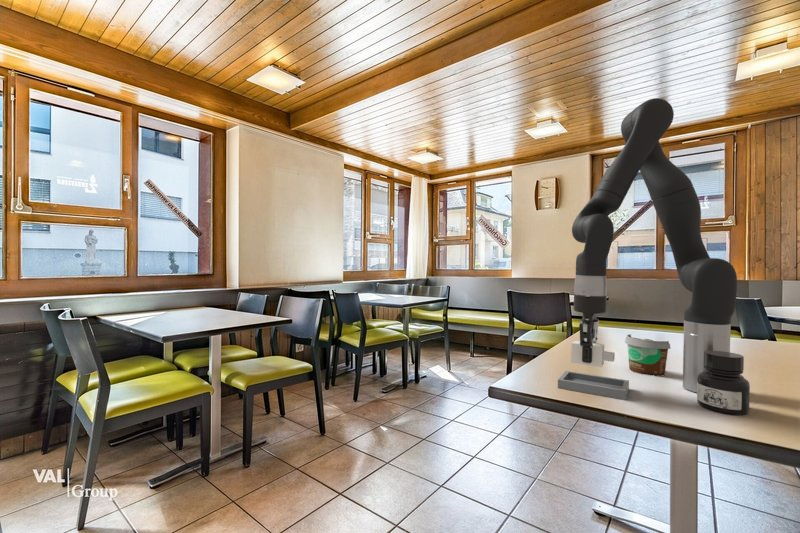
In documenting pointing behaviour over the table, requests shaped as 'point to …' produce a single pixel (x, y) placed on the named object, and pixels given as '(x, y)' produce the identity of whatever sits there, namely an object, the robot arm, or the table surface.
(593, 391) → the tray
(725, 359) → the ink bottle
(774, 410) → the table surface
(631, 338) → the food container
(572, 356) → the plug
